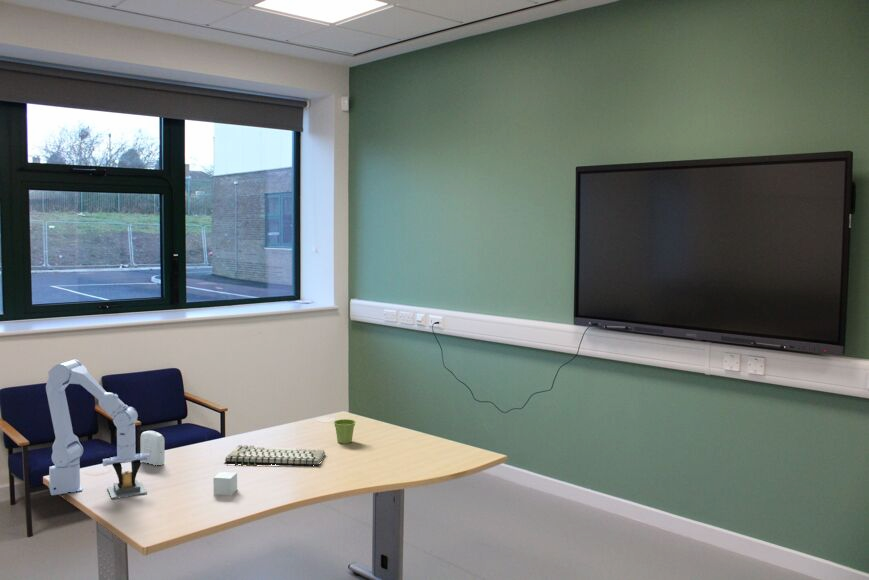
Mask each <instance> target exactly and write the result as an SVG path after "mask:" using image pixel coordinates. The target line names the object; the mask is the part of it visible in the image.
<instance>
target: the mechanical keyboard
mask: <svg viewBox="0 0 869 580" xmlns="http://www.w3.org/2000/svg"><path fill="white" fill-rule="evenodd" d="M325 455H326V452H325V450H324V449H317V450H316V449H310V448H309V449H308V450H307V449H306V448H305V449H303V448H289V447H288V448H287V447H266V448H265V447H259V446H258V447H255V446H254V445H243V444H242V445H241V444H238V445H237V446H236V447H235V448H234V449H232V451H231V452H230V453H229V454H228V455H227V456H225V460H224V461H225V462H224V463H223V465H226V464H235V466H236V465H238V464H241V466H240V467H244V466H243V465H246V466H245V467H258V466H257V465H271V464H272V465H275V464H276V465H292V466H291V467H319V463H320V462H321V460H322V459H323V460H324V456H325ZM313 465H314V466H313ZM235 466H234V467H235ZM238 466H239V465H238ZM236 467H237V466H236Z"/></svg>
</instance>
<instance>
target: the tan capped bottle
mask: <svg viewBox="0 0 869 580" xmlns="http://www.w3.org/2000/svg"><path fill="white" fill-rule="evenodd" d="M129 487H132V471H130V470H124V471H122V488H129Z"/></svg>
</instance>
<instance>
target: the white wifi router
mask: <svg viewBox="0 0 869 580" xmlns="http://www.w3.org/2000/svg"><path fill="white" fill-rule="evenodd" d="M139 443H140V444H139V445H140V454H145V453H149V455H150V460H142V461H141V463H145V464H147V463H149V465H151V464H153V465H152V466H155V465H156V466H155V467H158V466H157V465H161V466H163V465H164V464H165V450H166V449H165V437H164V436H163V434H161V433H160V432H157V431H154V430H146V431H143V432H141V434H140V442H139ZM162 464H163V465H162Z"/></svg>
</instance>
